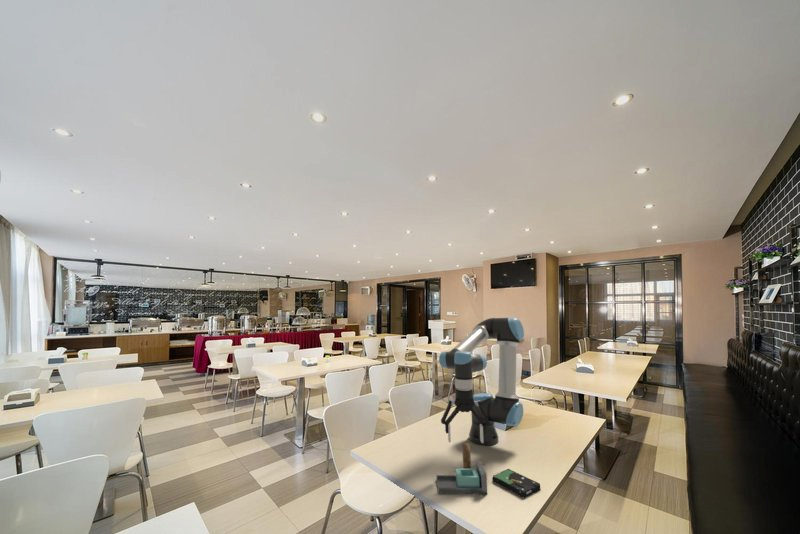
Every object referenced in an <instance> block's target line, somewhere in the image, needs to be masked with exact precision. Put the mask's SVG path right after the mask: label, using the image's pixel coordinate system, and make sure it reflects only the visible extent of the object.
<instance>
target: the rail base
mask: <svg viewBox="0 0 800 534" xmlns="http://www.w3.org/2000/svg"><path fill="white" fill-rule="evenodd" d="M475 469H476V471H477V473H478V476H479V483H480V487H458V485H457V481H456V474H455V475H453V474H448V475H447V474H443V475H442V474H437V475H436V484H437V490H438V495H488V482H487V481H488V479H487V476H488V475H487V472H486V469H485V467H484V465H483V463H482V462H481V461H475Z"/></svg>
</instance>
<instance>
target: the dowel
mask: <svg viewBox="0 0 800 534" xmlns="http://www.w3.org/2000/svg"><path fill="white" fill-rule="evenodd" d="M461 445H462V468H469V469H472V460H471V459H472V458H471V456H472V455H471V444H470V443H469V442H463V443H462V444H461Z"/></svg>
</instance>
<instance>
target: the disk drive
mask: <svg viewBox="0 0 800 534" xmlns="http://www.w3.org/2000/svg"><path fill="white" fill-rule="evenodd" d="M492 482H493V483H495V484H496V485H499V486H500V487H502V488H504V489H506V490H508V491H510V492H511V493H513V494H516V495H517V496H519V497H521V498H522V499H526V498H527V497H531V496H533V494H536V493H538V492H539V491H541V490H542V489H541V483H539V482H538V481H535V480H533V479H531V478H529V477H527V476H524V475H523V474H521V473H518V472H516V471H514V470H512V469H509V468H507V469H505V470H502V471H500V472H498V473H497V474H493V475H492Z"/></svg>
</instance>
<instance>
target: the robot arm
mask: <svg viewBox="0 0 800 534" xmlns="http://www.w3.org/2000/svg"><path fill="white" fill-rule="evenodd" d="M524 336H525V330H524V327H523V323H522V322H521V321H520V320H519V319H518V318H516V317H490V318H486V319H485V320H482V321H481V322H479V323H478V324H477V325H475V326H474V327H473V329H472V331H471V332H470V333H469V334H468V335H467V336H466V337H464V338H463V339H462V340H461V341H460V342H459V343H458V344H457V345H456V346H454V347H453V348H452V349H451V350H449V351H444V352H443V351H442V352H441V353H440V355H439V358H438V361H439V366H441V367H442V368H444V369H452V370H454V387H455V390H454V392H455V400H451V399H448V401H447V406H446V407H445V411H444V413H443V414H442V417H441V419H440V422H441V424H442V425H444V429H445V430H444V431H445V433H446V434H447V441H448V443H451V441H452V440H451V438H452V437H451V424H450V423H451V422H452V421H453V420H454V418H455V417H456V416H457V414H459V412H461V413H465V412H466V413H471V424H470V425H471V426H470V429H469V433H468V440H469V441H470V442H472V443H473V444H475V445H476V444H477V445H481V446H494V445H496V444H498V443H499V435H498V431H497V428H496V426H495V423H496V424H501V425H505V426H507V427H508V426H509V427H518V426H519V425H520V424H521V422H522V420H523V417H524V416H523V415H524V407H523V403H522V402H520V398H519V397H518V395H517V347H518V346H519V345H520V341H523V339H524ZM491 339H492V340H493V339H495V340H496V343H497V344H498V345H499V361H498V387H497V388H498V391H497V392H496V393H495V394H494V395H495V396H494V395H493V394H492V393H490V392H481V393H476V394H474V390H473V388H474V385H473V380H474V379H473V373H477V372H482V371H483V370H485V369H486V367H487V366H488V365H487V364H488V362H487V358H486V357H485V356H484V355H483V354H481V353H474V354H472V353H473V352H474V351H475V350H476V349H477V348H478V347H479V346H480V345H481V344H482V343H485V342H486V341H487V340H491ZM454 405H455V408H454V409H453V411H452V412H451V414H450V411H451V409H452V407H454ZM449 414H450V415H449Z"/></svg>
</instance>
